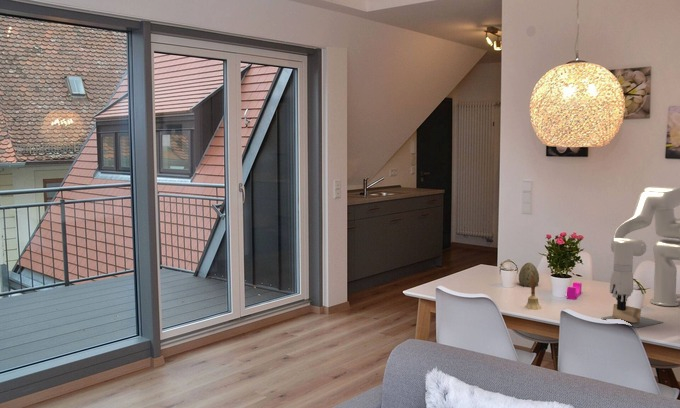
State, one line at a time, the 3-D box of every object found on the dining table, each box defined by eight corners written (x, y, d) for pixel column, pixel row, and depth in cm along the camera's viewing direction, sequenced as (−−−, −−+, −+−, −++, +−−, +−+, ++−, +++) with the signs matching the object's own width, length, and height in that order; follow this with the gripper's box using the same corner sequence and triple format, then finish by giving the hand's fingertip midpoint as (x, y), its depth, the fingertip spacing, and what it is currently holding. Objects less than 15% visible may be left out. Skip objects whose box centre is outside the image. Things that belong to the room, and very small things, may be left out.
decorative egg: (526, 286, 348) (526, 260, 347) (542, 289, 339) (543, 262, 338) (514, 289, 341) (514, 262, 340) (531, 292, 333) (531, 265, 332)
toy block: (568, 295, 325) (569, 281, 325) (581, 297, 322) (581, 282, 322) (562, 301, 313) (562, 286, 312) (574, 302, 310) (575, 287, 309)
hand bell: (525, 310, 294) (526, 277, 292) (522, 306, 302) (523, 274, 301) (543, 310, 292) (544, 277, 291) (540, 306, 301) (540, 274, 300)
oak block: (619, 317, 277) (621, 304, 277) (639, 322, 268) (641, 309, 268) (612, 317, 275) (613, 303, 275) (631, 322, 266) (633, 308, 266)
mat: (627, 313, 285) (627, 313, 285) (663, 322, 270) (663, 321, 270) (600, 318, 277) (600, 317, 277) (636, 328, 261) (636, 327, 261)
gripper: (626, 266, 275) (625, 306, 276) (603, 268, 269) (602, 309, 270) (641, 268, 269) (640, 310, 270) (618, 270, 262) (617, 313, 263)
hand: (621, 309), depth 270 cm, fingers closed
